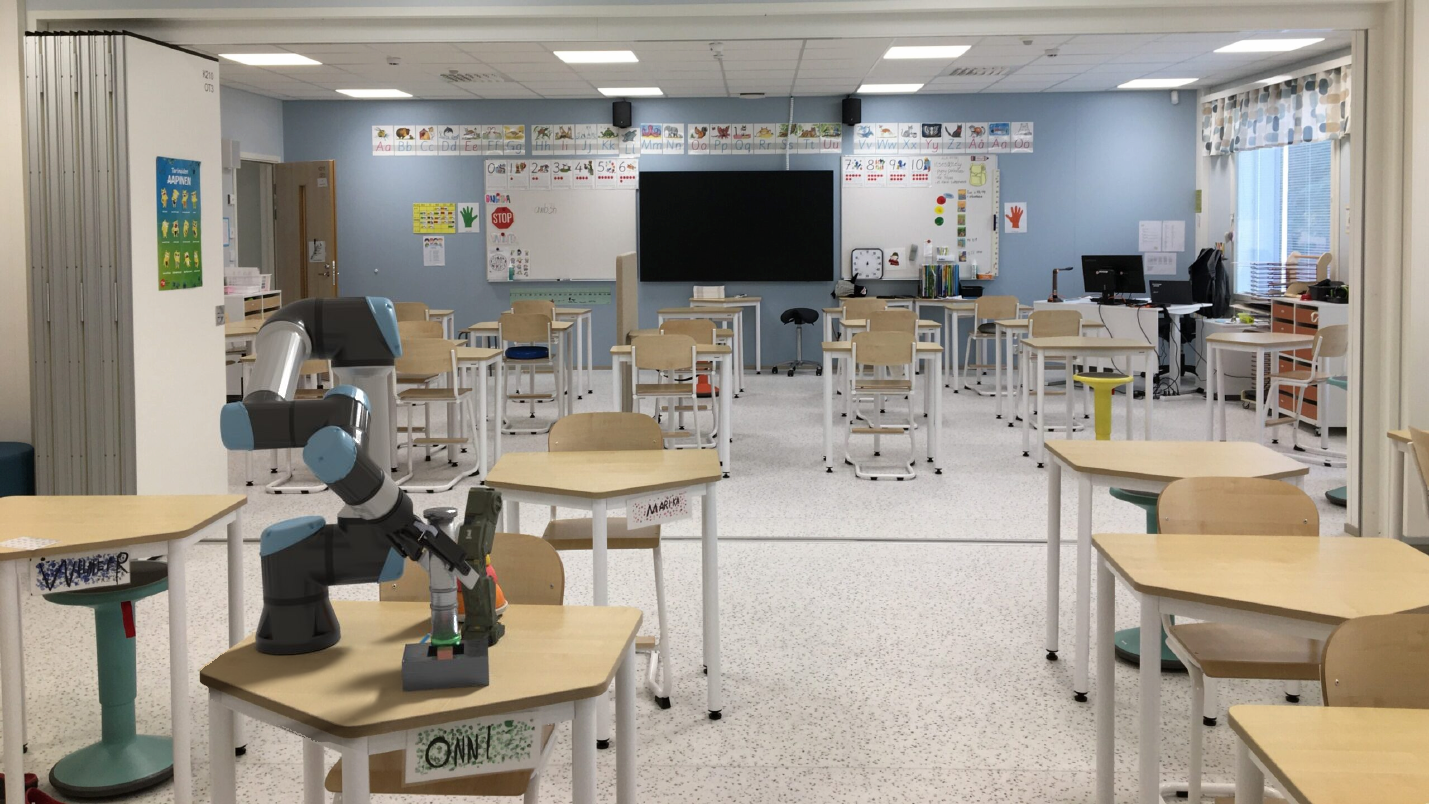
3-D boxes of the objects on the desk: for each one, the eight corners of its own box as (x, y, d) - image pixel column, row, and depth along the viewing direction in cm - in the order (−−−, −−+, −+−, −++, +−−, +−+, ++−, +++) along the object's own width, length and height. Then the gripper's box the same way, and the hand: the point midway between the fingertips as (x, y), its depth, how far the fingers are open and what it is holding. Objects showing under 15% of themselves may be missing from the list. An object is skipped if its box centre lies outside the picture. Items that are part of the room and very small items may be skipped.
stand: (406, 672, 200) (405, 635, 200) (488, 665, 203) (487, 629, 202) (402, 692, 191) (401, 653, 190) (489, 685, 193) (487, 647, 193)
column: (429, 639, 198) (423, 507, 196) (462, 637, 200) (457, 506, 197) (428, 649, 193) (422, 514, 190) (462, 647, 194) (457, 512, 192)
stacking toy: (522, 611, 236) (519, 517, 234) (473, 630, 224) (469, 531, 222) (471, 602, 244) (467, 511, 241) (421, 619, 232) (417, 523, 229)
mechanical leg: (479, 653, 207) (489, 485, 211) (442, 651, 209) (452, 484, 212) (508, 647, 221) (517, 490, 224) (472, 645, 222) (482, 489, 226)
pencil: (432, 635, 222) (432, 632, 222) (404, 665, 205) (404, 661, 205) (428, 635, 222) (428, 632, 222) (400, 665, 205) (400, 661, 205)
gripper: (326, 515, 186) (407, 590, 201) (411, 528, 176) (490, 606, 191) (351, 478, 190) (429, 554, 205) (436, 488, 179) (511, 568, 195)
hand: (458, 579), depth 198 cm, fingers open, 7 cm apart
